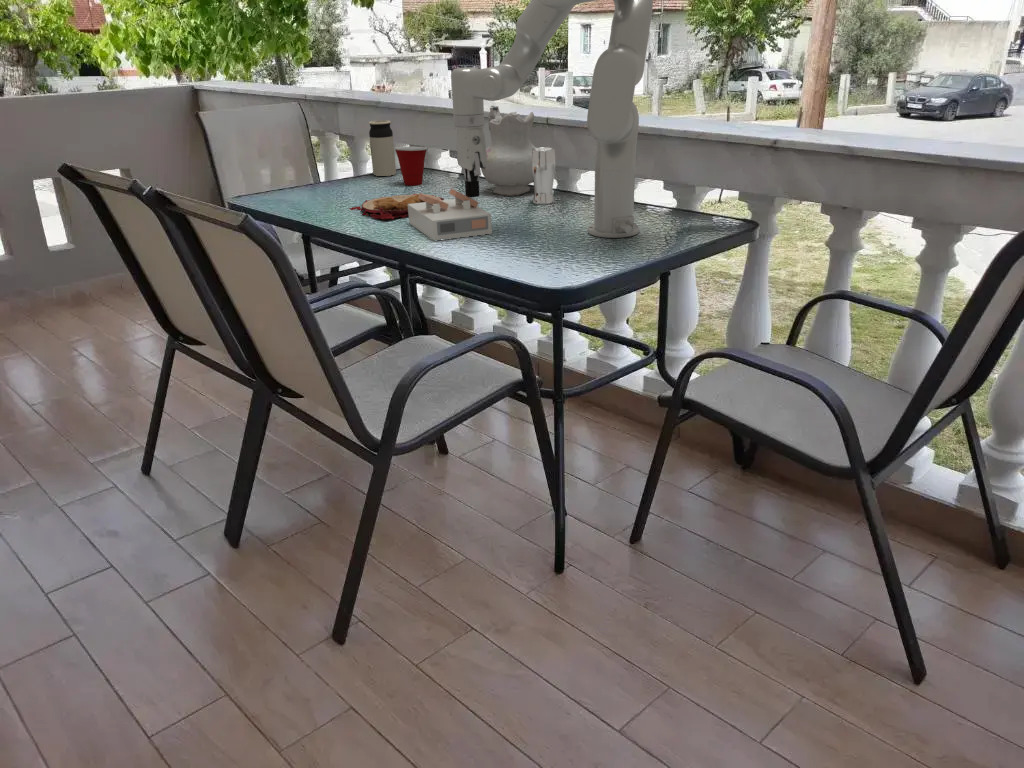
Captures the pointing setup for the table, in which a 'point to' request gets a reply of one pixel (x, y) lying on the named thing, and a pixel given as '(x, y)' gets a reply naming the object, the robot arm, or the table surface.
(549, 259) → the table surface
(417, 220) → the switch box
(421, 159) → the plastic cup
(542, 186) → the white cylinder
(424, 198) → the rocker
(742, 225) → the table surface
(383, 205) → the plate with food
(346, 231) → the table surface
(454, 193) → the rocker
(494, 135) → the ceramic pitcher
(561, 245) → the table surface
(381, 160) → the travel mug
